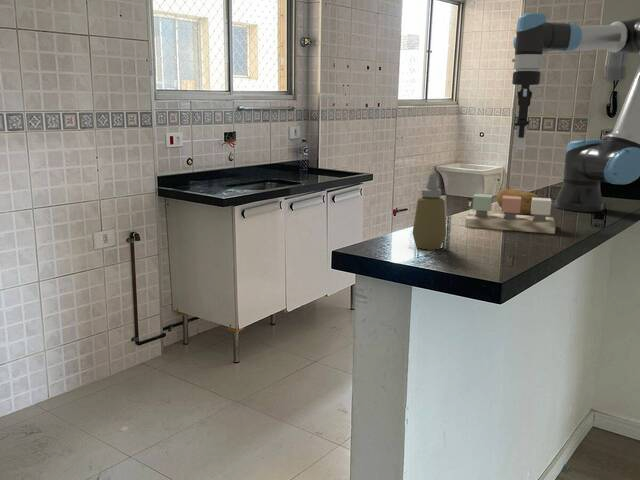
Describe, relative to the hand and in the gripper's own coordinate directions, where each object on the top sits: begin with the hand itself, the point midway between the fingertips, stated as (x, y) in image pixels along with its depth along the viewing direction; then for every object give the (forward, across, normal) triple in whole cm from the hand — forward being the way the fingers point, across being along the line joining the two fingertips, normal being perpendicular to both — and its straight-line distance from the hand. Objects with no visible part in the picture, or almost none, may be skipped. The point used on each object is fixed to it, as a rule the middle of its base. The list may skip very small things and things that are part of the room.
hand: (519, 147), depth 178 cm
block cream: (+20, +10, +7) cm, 23 cm away
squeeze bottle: (+22, +46, -19) cm, 54 cm away
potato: (+22, -10, +1) cm, 24 cm away
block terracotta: (+20, +10, -1) cm, 22 cm away
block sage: (+20, +10, -9) cm, 24 cm away
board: (+22, +10, -1) cm, 24 cm away
